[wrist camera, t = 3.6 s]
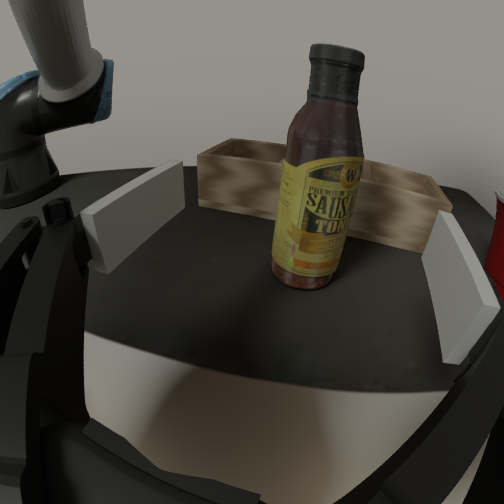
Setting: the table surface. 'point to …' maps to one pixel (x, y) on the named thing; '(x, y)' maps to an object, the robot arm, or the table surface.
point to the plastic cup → (497, 247)
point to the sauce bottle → (320, 171)
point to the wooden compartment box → (366, 204)
